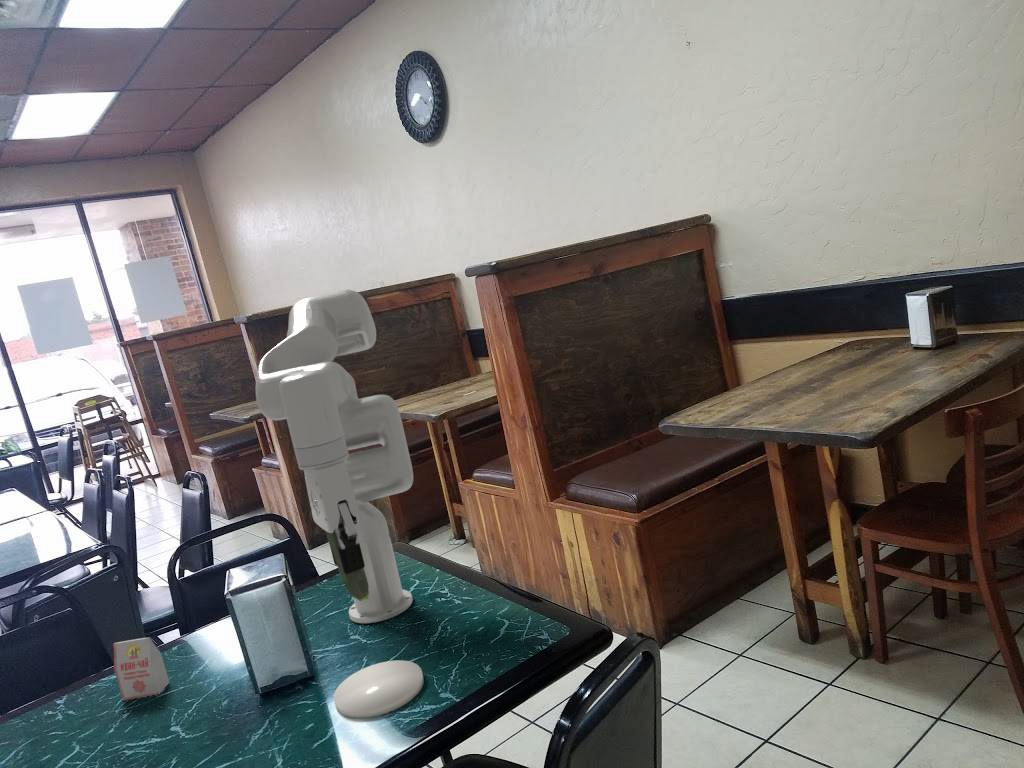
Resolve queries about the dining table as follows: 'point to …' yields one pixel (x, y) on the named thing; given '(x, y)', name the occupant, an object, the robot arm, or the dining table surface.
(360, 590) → the vegetable
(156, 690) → the tea bag
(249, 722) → the dining table surface
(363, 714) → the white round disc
